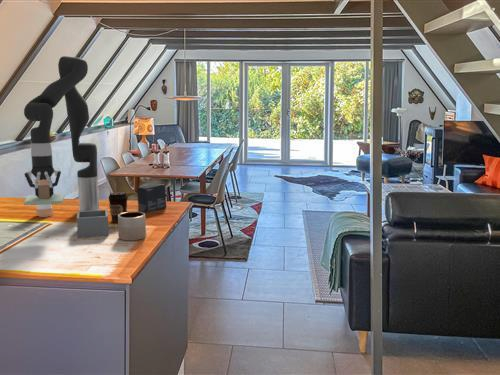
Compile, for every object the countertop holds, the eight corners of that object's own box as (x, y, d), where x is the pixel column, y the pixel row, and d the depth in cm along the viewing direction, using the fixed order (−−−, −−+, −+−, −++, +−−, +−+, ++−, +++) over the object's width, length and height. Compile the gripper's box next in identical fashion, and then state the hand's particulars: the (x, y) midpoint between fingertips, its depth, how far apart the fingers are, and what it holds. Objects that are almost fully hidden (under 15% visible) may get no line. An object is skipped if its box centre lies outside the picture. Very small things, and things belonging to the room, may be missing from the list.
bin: (78, 229, 215) (77, 211, 214) (108, 227, 219) (107, 209, 217) (77, 237, 204) (76, 218, 203) (108, 235, 208) (107, 216, 206)
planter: (121, 233, 210) (120, 211, 208) (147, 233, 211) (146, 211, 209) (116, 241, 199) (115, 218, 197) (144, 241, 200) (143, 217, 198)
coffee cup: (123, 224, 225) (122, 195, 222) (105, 223, 226) (104, 194, 224) (131, 219, 233) (130, 191, 231) (114, 218, 235) (113, 190, 232)
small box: (157, 205, 260) (156, 182, 258) (166, 207, 257) (166, 184, 254) (137, 210, 250) (136, 186, 248) (147, 212, 246) (146, 188, 244)
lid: (28, 199, 208) (27, 183, 207) (64, 197, 212) (63, 181, 211) (23, 206, 195) (22, 189, 194) (62, 204, 199) (61, 188, 198)
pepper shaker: (33, 216, 237) (29, 175, 234) (44, 212, 244) (41, 173, 240) (45, 217, 235) (42, 176, 231) (56, 214, 241) (53, 174, 237)
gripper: (61, 152, 206) (64, 194, 209) (23, 153, 202) (26, 196, 205) (60, 154, 199) (63, 197, 202) (20, 156, 195) (24, 199, 198)
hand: (44, 196), depth 203 cm, fingers closed on lid, 4 cm apart
